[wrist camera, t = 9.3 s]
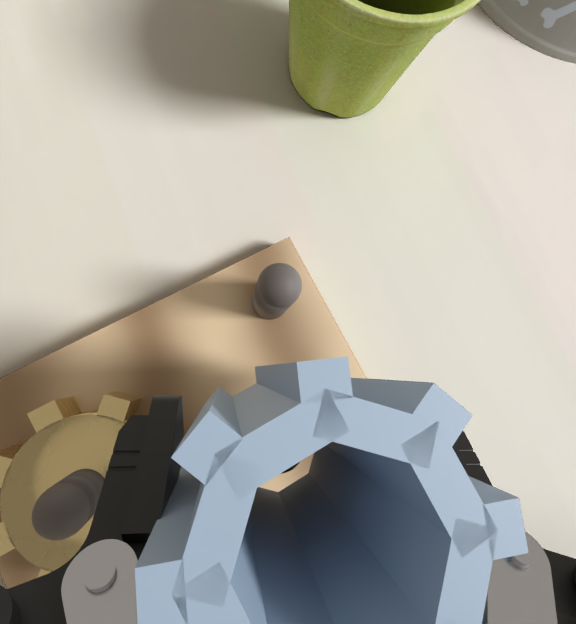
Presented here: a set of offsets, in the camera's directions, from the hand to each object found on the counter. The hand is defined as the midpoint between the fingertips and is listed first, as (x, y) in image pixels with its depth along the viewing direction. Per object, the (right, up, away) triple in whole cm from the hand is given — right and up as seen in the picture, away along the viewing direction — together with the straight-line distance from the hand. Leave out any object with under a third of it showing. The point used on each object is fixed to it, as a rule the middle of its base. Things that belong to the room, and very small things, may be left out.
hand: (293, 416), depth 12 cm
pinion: (-1, -2, +5) cm, 5 cm away
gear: (-8, -4, +6) cm, 11 cm away
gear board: (-5, -4, +8) cm, 10 cm away
